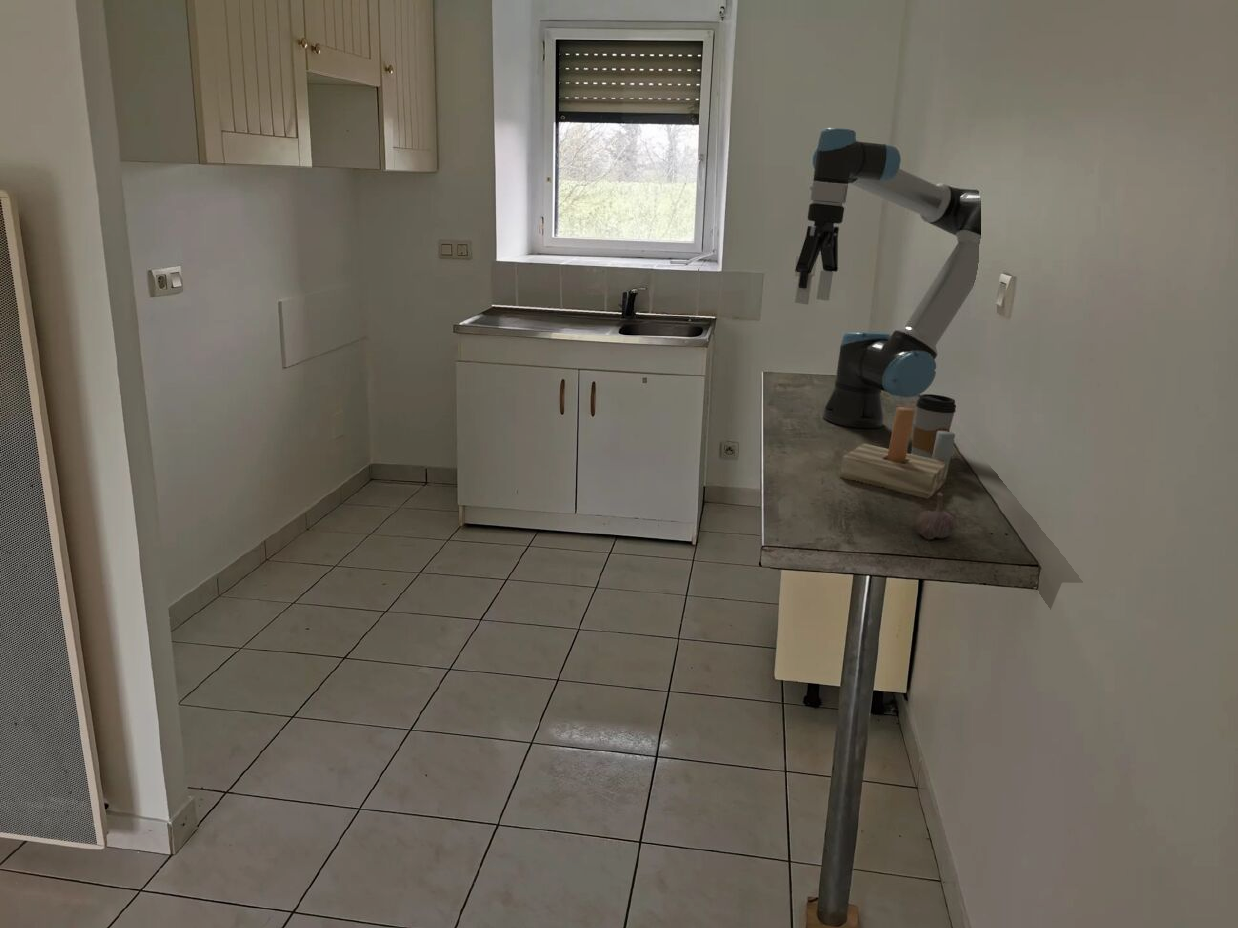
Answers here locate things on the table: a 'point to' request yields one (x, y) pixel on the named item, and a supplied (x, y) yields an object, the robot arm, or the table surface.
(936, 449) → the grey dowel
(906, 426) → the tapered brown peg
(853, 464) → the bore block
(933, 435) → the coffee cup
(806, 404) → the table surface
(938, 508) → the garlic bulb
